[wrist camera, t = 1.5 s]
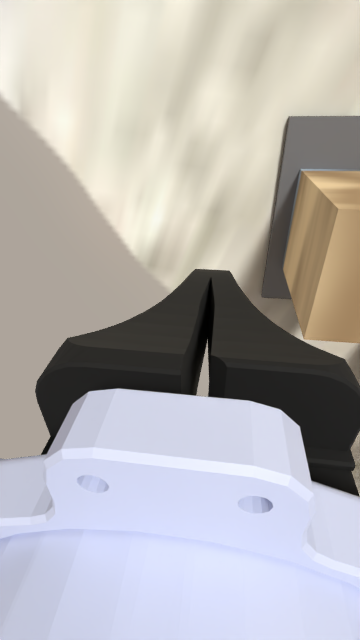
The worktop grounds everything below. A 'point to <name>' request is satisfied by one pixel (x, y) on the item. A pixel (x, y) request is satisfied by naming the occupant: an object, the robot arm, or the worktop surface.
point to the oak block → (325, 254)
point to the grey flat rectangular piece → (299, 153)
